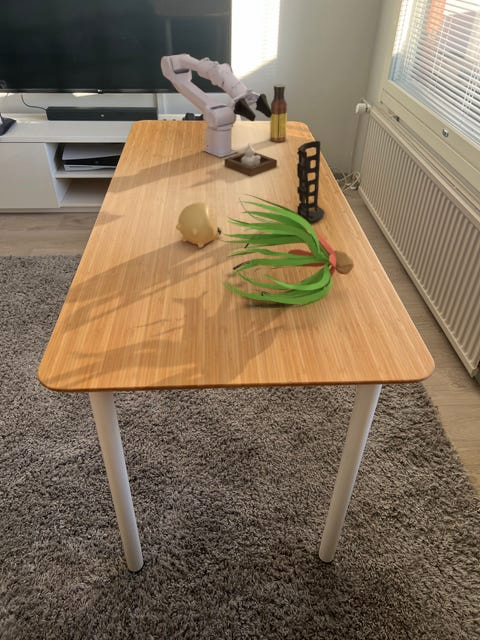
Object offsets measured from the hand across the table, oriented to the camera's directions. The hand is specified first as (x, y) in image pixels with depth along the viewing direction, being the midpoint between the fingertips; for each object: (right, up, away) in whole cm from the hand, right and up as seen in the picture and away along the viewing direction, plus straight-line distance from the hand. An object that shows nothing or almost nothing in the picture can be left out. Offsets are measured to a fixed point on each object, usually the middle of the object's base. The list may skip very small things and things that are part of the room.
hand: (262, 117), depth 166 cm
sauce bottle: (+7, +5, +35) cm, 36 cm away
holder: (+12, -36, -18) cm, 42 cm away
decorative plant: (+2, -60, -51) cm, 79 cm away
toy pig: (-18, -45, -32) cm, 58 cm away
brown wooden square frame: (-4, -13, +12) cm, 17 cm away
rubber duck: (-4, -13, +12) cm, 18 cm away
